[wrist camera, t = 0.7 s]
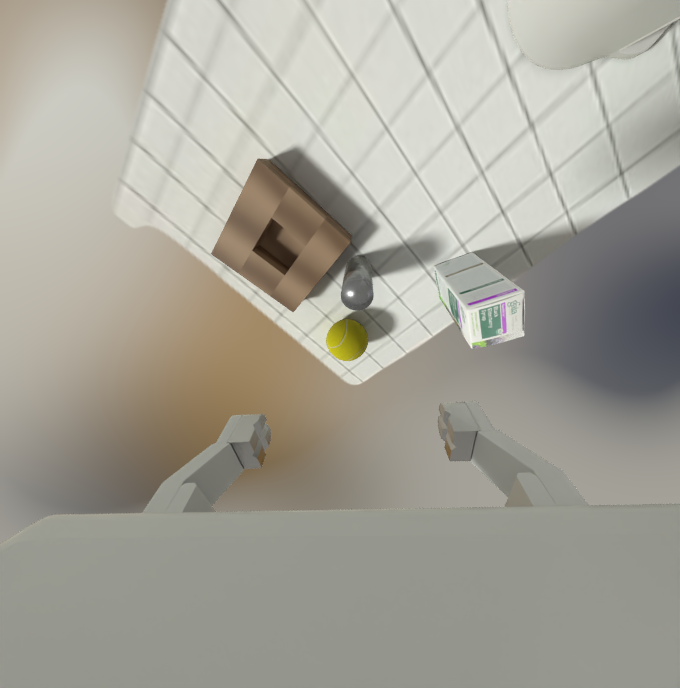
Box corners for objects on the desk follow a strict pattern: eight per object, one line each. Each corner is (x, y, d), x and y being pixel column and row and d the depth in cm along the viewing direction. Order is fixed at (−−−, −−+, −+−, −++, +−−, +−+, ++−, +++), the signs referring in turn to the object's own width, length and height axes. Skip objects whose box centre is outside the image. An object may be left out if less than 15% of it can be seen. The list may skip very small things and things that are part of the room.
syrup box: (432, 265, 38) (463, 310, 26) (473, 250, 36) (527, 291, 24) (439, 297, 41) (469, 351, 29) (477, 285, 39) (527, 337, 27)
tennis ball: (321, 328, 46) (315, 351, 40) (347, 304, 43) (345, 326, 37) (348, 350, 49) (346, 375, 43) (375, 329, 45) (377, 353, 40)
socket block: (268, 159, 32) (257, 158, 28) (351, 235, 36) (350, 242, 33) (224, 246, 38) (211, 253, 35) (298, 301, 43) (293, 312, 40)
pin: (357, 250, 37) (355, 273, 29) (376, 267, 39) (380, 294, 30) (340, 269, 39) (334, 297, 31) (359, 285, 41) (358, 315, 32)
